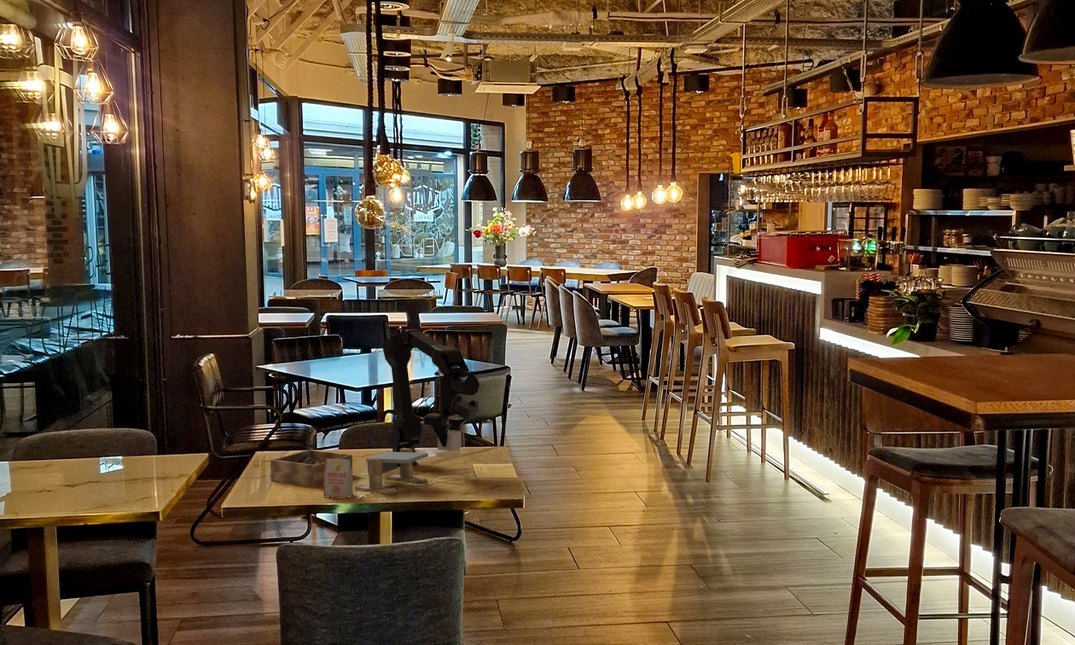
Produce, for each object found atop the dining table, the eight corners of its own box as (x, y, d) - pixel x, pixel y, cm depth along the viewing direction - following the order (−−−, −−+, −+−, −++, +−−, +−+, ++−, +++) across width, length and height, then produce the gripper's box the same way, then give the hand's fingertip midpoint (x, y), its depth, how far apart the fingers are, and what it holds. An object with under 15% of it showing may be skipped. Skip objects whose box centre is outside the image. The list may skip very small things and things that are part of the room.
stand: (355, 489, 258) (354, 457, 257) (392, 476, 273) (392, 446, 273) (390, 494, 252) (390, 461, 252) (426, 480, 268) (426, 450, 267)
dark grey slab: (367, 474, 260) (365, 458, 260) (388, 467, 269) (387, 451, 269) (408, 476, 254) (407, 459, 254) (428, 469, 263) (427, 453, 263)
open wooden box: (271, 480, 268) (270, 460, 268) (309, 469, 283) (308, 449, 282) (315, 486, 261) (315, 465, 260) (352, 474, 275) (352, 454, 275)
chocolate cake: (293, 485, 266) (320, 452, 271) (276, 475, 269) (303, 442, 274) (306, 500, 273) (333, 468, 278) (290, 490, 276) (316, 459, 281)
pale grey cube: (437, 449, 271) (437, 432, 271) (446, 446, 276) (446, 429, 275) (452, 451, 269) (452, 433, 269) (461, 447, 273) (461, 431, 273)
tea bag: (329, 493, 254) (328, 457, 253) (352, 494, 252) (352, 458, 252) (323, 496, 250) (323, 460, 249) (347, 498, 249) (346, 461, 248)
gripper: (455, 398, 259) (455, 453, 260) (489, 389, 276) (489, 441, 277) (422, 395, 264) (422, 449, 265) (456, 387, 281) (457, 438, 282)
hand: (449, 445), depth 272 cm, fingers closed on pale grey cube, 5 cm apart
